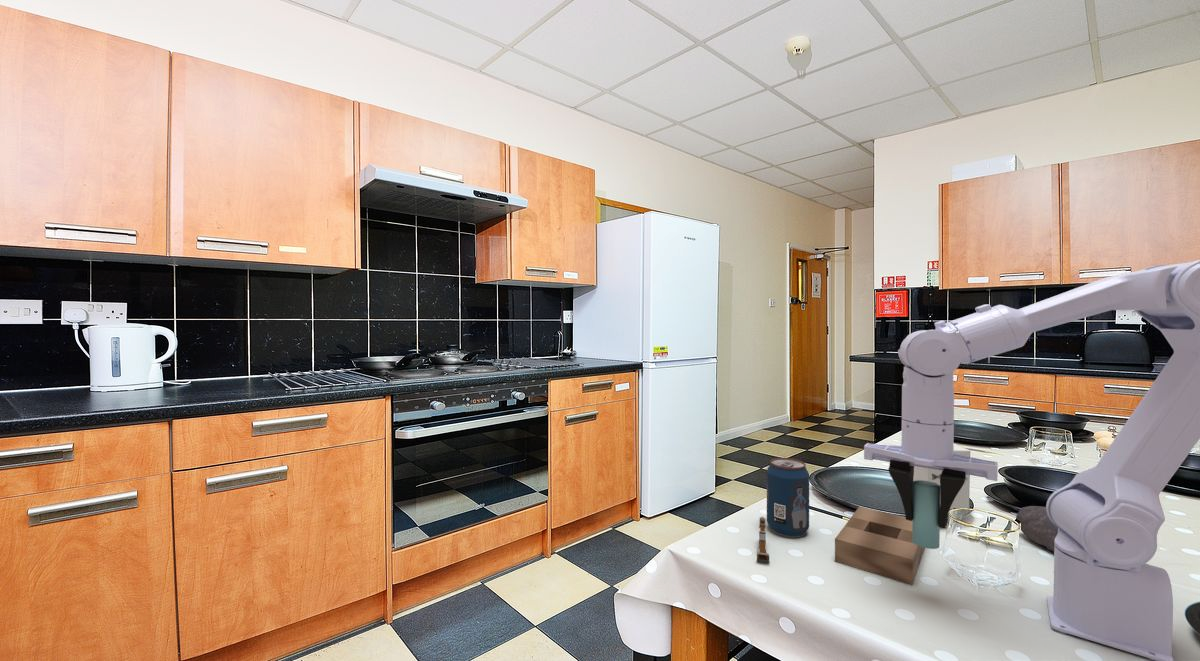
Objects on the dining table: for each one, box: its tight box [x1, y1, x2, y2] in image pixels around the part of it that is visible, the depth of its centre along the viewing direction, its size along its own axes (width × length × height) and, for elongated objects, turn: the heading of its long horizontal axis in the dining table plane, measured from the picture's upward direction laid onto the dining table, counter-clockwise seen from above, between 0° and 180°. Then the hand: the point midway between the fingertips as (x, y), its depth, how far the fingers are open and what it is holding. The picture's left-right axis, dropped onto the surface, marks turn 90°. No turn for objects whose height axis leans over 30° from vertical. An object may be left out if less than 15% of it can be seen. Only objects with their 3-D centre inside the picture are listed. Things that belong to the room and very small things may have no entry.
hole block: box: [834, 506, 926, 585], centre depth 76 cm, size 10×16×4 cm, turn 140°
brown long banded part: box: [756, 516, 770, 563], centre depth 76 cm, size 2×8×4 cm, turn 162°
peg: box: [912, 480, 941, 550], centre depth 64 cm, size 3×3×8 cm
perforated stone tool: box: [1015, 505, 1058, 553], centre depth 74 cm, size 15×5×7 cm, turn 6°
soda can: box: [766, 457, 810, 539], centre depth 83 cm, size 7×7×12 cm
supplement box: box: [913, 443, 971, 509], centre depth 92 cm, size 7×7×13 cm
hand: (925, 521), depth 64 cm, fingers closed on peg, 3 cm apart
